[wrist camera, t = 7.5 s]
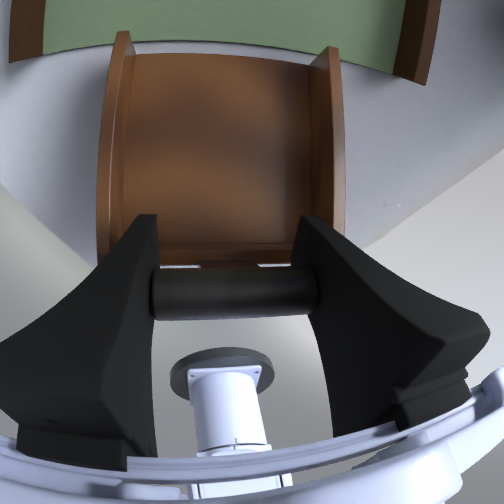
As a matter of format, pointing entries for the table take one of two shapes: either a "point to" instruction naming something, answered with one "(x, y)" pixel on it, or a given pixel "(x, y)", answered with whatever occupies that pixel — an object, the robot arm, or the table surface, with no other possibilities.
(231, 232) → the tray
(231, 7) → the mat
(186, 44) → the table surface
